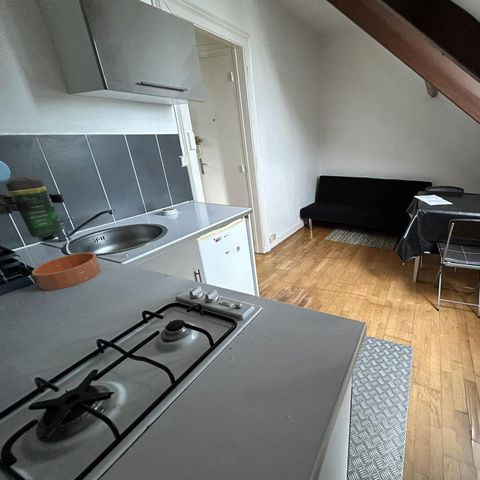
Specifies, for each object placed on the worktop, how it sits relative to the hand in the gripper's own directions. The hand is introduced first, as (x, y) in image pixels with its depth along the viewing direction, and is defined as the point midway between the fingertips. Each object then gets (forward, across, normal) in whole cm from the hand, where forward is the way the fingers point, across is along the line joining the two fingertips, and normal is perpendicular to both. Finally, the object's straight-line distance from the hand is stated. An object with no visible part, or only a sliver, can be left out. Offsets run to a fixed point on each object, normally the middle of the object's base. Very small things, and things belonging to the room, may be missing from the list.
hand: (46, 202), depth 82 cm
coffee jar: (-5, 0, -11) cm, 12 cm away
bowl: (0, +3, -26) cm, 26 cm away
